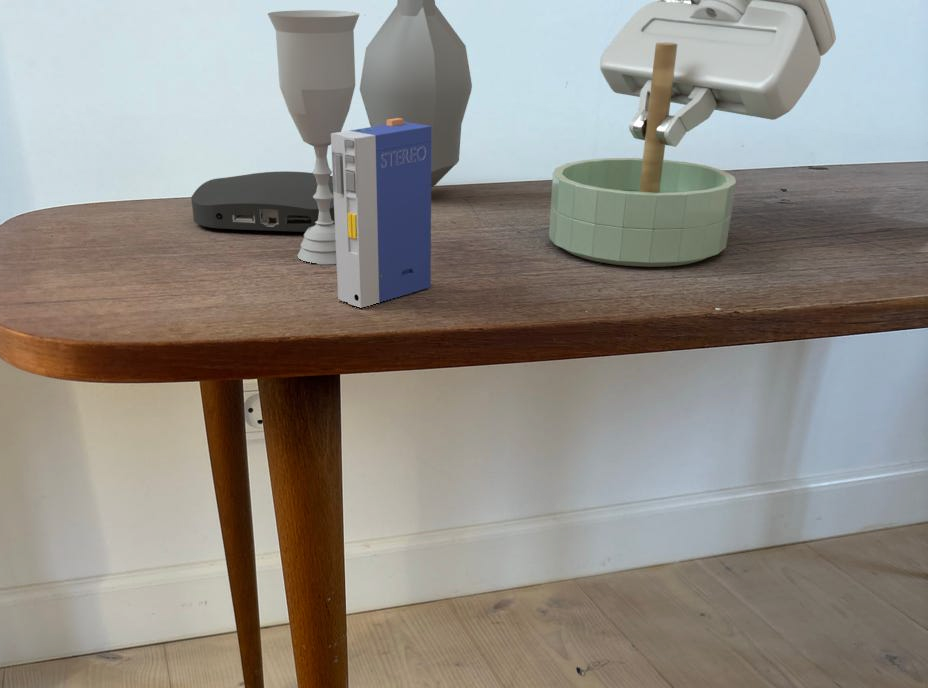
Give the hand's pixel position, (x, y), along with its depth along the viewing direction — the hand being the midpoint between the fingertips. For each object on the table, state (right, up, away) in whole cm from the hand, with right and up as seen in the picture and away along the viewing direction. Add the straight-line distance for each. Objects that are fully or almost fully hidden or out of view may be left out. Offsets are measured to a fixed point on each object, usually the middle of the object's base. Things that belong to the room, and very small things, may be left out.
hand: (651, 138), depth 91 cm
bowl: (-1, -8, +3) cm, 9 cm away
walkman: (-22, -17, -10) cm, 30 cm away
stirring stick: (0, -6, +5) cm, 8 cm away
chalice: (-28, -11, -1) cm, 30 cm away
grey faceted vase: (-21, +3, +20) cm, 29 cm away
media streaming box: (-34, -2, +11) cm, 36 cm away
